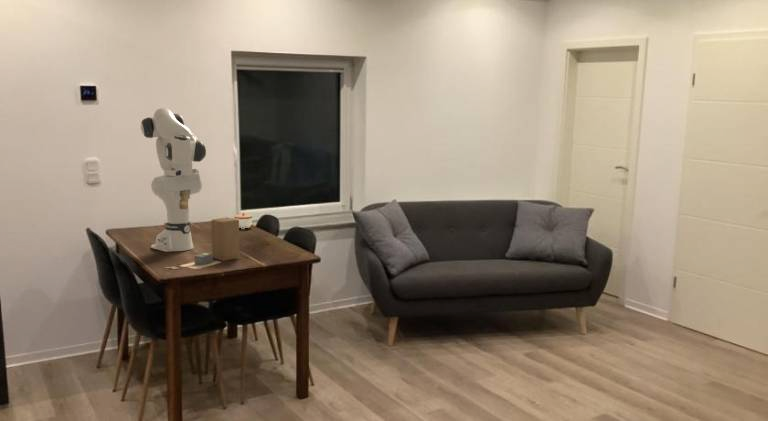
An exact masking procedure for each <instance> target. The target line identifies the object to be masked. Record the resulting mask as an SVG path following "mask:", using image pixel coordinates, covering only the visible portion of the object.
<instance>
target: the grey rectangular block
mask: <svg viewBox="0 0 768 421" xmlns="http://www.w3.org/2000/svg"><path fill="white" fill-rule="evenodd" d="M193 258H194V261H195V264H198V265H206V264H209V263H212V262H213V261H214V258H213V254H212V253H208V252H203V253H199V254H196V255H194V257H193Z"/></svg>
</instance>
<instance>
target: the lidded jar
mask: <svg viewBox="0 0 768 421" xmlns="http://www.w3.org/2000/svg"><path fill="white" fill-rule="evenodd" d="M233 219H237V220H239V228H241V229H240V230H246V229H245V228H248V229H249V228H250V227H251V226H252V223H253V215H252V214H247V213H246V214H245V212H242V213H241V214H239V213H238V214H236V215H234V218H233Z"/></svg>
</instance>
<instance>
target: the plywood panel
mask: <svg viewBox="0 0 768 421" xmlns="http://www.w3.org/2000/svg"><path fill="white" fill-rule="evenodd" d="M221 263H222V261H220V260H219V261H218V260H213V262H212V263H209V264H206V265H198V264H195V260H194V261H191V262H188V263H183V264H181V265H179V267H183V268H189V269H195V270H200V269H204V268H207V267H210V266H215V265H217V264H221Z"/></svg>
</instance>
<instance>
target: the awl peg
mask: <svg viewBox="0 0 768 421" xmlns="http://www.w3.org/2000/svg"><path fill="white" fill-rule="evenodd" d="M179 195H180V197H182V200H180V201H179V209H188V207H189V199H188V193H187V190H183V191H180V194H179Z"/></svg>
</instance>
